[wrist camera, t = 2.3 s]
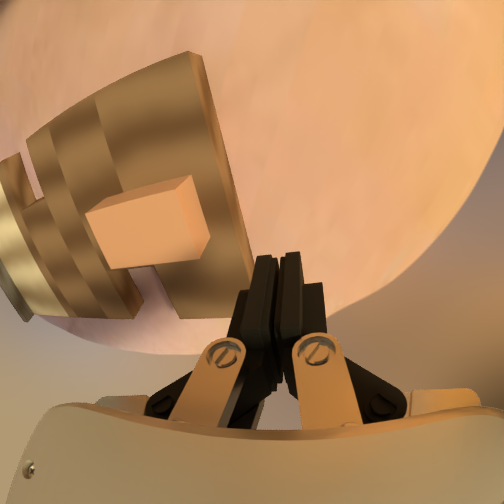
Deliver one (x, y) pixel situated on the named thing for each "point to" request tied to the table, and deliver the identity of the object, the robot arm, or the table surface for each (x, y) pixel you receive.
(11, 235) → the platform
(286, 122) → the table surface
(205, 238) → the block
